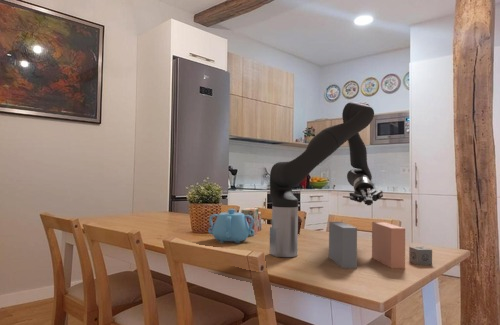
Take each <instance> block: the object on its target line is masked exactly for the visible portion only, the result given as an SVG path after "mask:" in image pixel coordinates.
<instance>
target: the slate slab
mask: <svg viewBox="0 0 500 325" xmlns="http://www.w3.org/2000/svg"><path fill="white" fill-rule="evenodd" d="M328 226H329V227H328V229H329V230H328V259H330V260H332V261H333V262H334V263H336V265H337V266H339V267H341V269H357V266H358V227H355V226H353V225H351V224H348V223H346V222H343V221H329V222H328Z"/></svg>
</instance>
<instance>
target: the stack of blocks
mask: <svg viewBox="0 0 500 325" xmlns="http://www.w3.org/2000/svg"><path fill="white" fill-rule="evenodd" d="M240 213H243V214H244V215H250V216H251V217H252V218H253V220H254V222H253V226H252V228H251V229H253V230H254V235H251V236H250V235H248V237H255V236H256V235H257V234H258V233H259V232H260V231H261V230H262V211H259V207H244V208H242V209H241V210H240ZM246 220H247V222H248V226H249V227H250V224H251V219H250V218H249V217H246ZM250 233H252V231H250Z"/></svg>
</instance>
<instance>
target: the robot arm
mask: <svg viewBox="0 0 500 325" xmlns="http://www.w3.org/2000/svg"><path fill="white" fill-rule="evenodd" d="M341 114H342V115H341V116H342V123H339V124H335V125H331V126H329V127H326V128H324V129H322V130H320V131H319V132H318V133H317V134H316V135H314V136H313V137H312V138H311V139H310V140H309V143H308V144H307V147H306V149H305V150H304V151H303V152H302V153H301V154H300V155H298V156H297V157H295V158H293V159H292V160H290V161H278V162H276V163H275V164H273V165H272V167H271V169H270V173H269V194H270V195H269V196H270V199H271V204H272V207H271V208H272V211H271V212H272V214H271V220H272V221H271V226H270V227H269V255H272V256H274V257H276V258H280V257H281V258H294V257H297V256H298V253H299V252H298V250H299V248H298V242H299V240H298V238H299V236H298V216H299V199H298V198H297V197H296V196H295V195H294V193H293V189H292V188H295V187H298V185H300V184H301V183H302V182H303V181H304V180H305V179H306V178H307V177H308V176H309V174H310V173H311V172H313V170H314V169H315V168H316V167H318V166H320V164H321V163H323V161H325V160H326V159H327V158H329V157H330V156H331V155H332V154H334V153H335V152H336V151H337V150H338V149H339V148H340V147H341V146H342V145H344V144H345V143H346V142H348V148H349V149H348V150H349V159H350V160H349V161H350V165H351V167H352V168H353V169H350V170H349V171H348V172H347V174H346V178H347V181H348V183H349V185H350V186H351V187H353V191H354V192H349V193H348V194H349V200H351V201H354V202H357V203H362V202H363V203H364V205H366V206H372V205H373V204H374V202H377V201H378V200H380V199H381V198H383V197H384V193H383V192H384V191H383V189H380V190H377V189H375V187H374V185H373V182H372V179H373V175H372V172H371V171H370V168H369V164H368V155H367V154H368V151H367V147H366V144H365V142H364V141H363V139H362V137H361V135H360V132H361V131H363V130H364V129H366V128H367V127H368V126H369V125H370V124H371V123H372V122H373V119H374V117H375V111H374V109H373V107H371V106H370V105H368V104H364V103H360V102H355V101H350V102H347V103H346V104H345V106H344V107H343V109H342V113H341Z"/></svg>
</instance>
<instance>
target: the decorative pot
mask: <svg viewBox="0 0 500 325" xmlns="http://www.w3.org/2000/svg"><path fill="white" fill-rule="evenodd" d="M227 211H228V212H219V213H218V214H217V213H214V214H211V215H210V217H209V219H208V220H209V224H210V227H209V228H208V234H210V235H212V237H213V238H214V239H215V240H216V241H219V243H226V242H233V243H235V244H240V243H241V242H242V241H246V240H247V238H248V237H252V236H251V235H254V230H253V229H251V228H252V226H253V222H254V220H253V218H252V217H251V216H250V215H244V214H243V213H241V212H236V208H228V209H227ZM214 217H216V219H215V221H214V224H213V218H214ZM246 217H249V218H250V219H251V224H250V227H249V226H248V222H247V220H246ZM250 231H252V233H250ZM248 235H250V236H248Z"/></svg>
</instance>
